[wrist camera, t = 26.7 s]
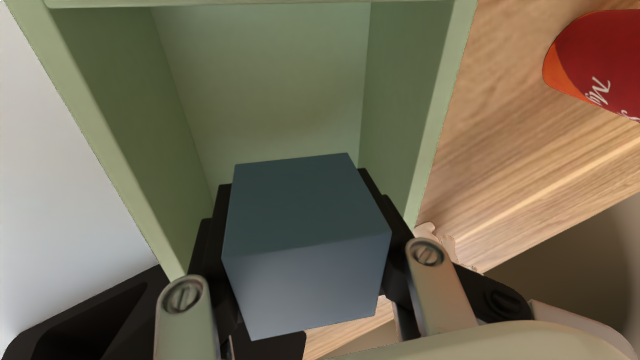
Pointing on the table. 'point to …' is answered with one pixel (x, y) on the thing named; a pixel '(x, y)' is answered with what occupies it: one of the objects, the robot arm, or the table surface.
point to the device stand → (128, 327)
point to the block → (303, 244)
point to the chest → (248, 93)
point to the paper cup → (599, 61)
